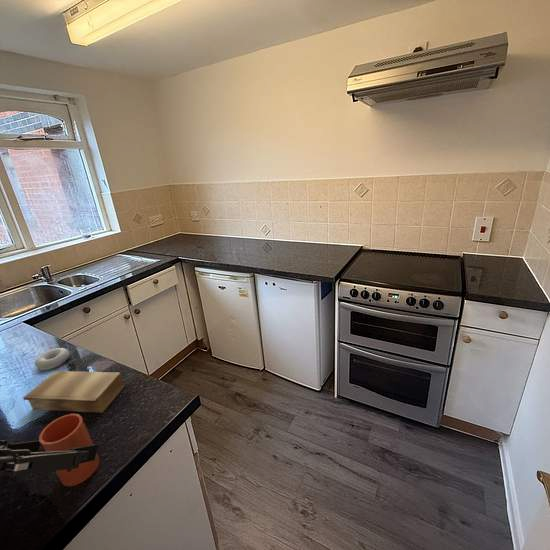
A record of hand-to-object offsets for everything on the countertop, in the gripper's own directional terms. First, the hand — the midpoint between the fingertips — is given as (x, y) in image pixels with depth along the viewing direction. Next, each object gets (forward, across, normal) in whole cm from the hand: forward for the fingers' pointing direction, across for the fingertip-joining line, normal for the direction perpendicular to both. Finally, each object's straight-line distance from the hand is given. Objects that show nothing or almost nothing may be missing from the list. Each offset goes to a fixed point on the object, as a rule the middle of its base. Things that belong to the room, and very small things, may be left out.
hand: (65, 449), depth 61 cm
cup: (+6, 0, +4) cm, 7 cm away
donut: (+30, +40, -20) cm, 54 cm away
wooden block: (+20, +17, -10) cm, 28 cm away
